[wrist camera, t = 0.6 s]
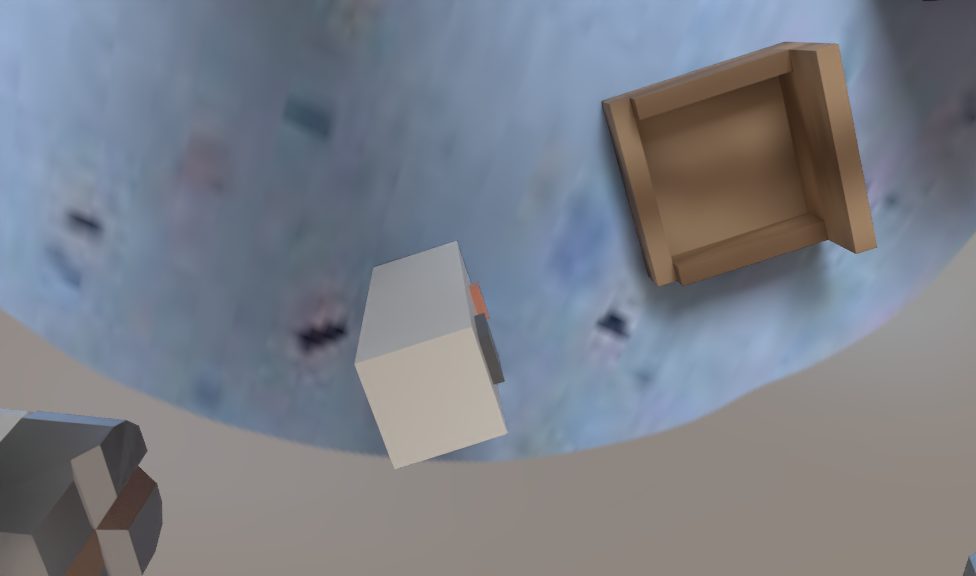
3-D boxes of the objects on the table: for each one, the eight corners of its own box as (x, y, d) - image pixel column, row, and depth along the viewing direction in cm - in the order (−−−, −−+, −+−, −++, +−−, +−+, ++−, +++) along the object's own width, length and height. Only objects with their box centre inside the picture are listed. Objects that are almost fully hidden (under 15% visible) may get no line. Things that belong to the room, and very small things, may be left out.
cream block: (373, 267, 47) (354, 364, 33) (464, 237, 46) (483, 322, 33) (401, 345, 48) (394, 469, 34) (491, 317, 48) (518, 430, 34)
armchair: (601, 101, 45) (627, 111, 39) (784, 42, 45) (838, 43, 39) (648, 276, 48) (680, 310, 42) (821, 221, 48) (877, 247, 42)
